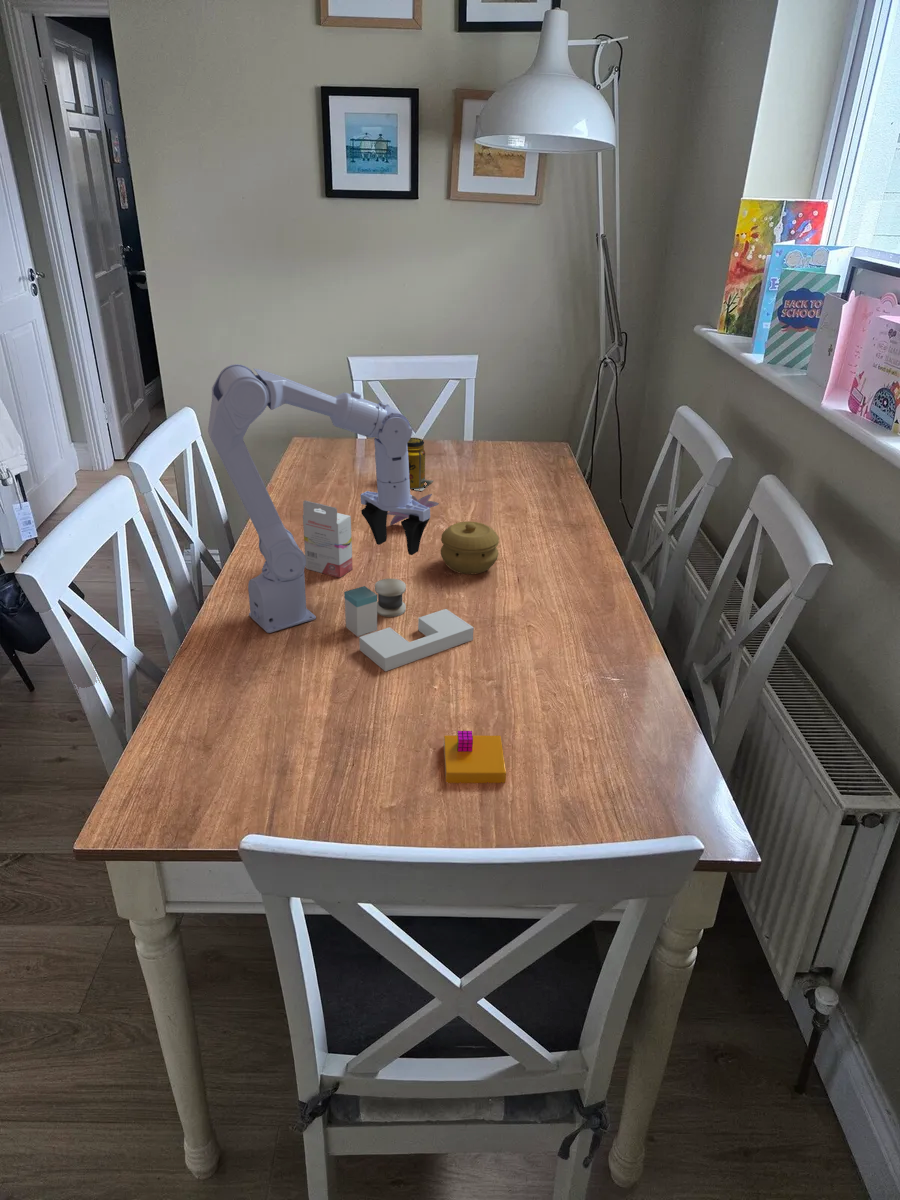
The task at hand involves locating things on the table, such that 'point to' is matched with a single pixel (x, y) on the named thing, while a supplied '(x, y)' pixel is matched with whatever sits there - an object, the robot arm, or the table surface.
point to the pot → (469, 547)
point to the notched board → (397, 651)
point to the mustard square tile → (473, 758)
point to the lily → (401, 516)
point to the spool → (390, 597)
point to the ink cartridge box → (327, 539)
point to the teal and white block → (361, 610)
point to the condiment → (417, 464)
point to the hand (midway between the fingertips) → (397, 547)
